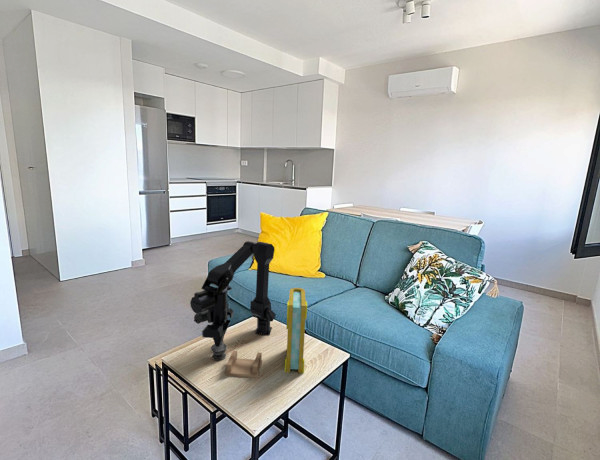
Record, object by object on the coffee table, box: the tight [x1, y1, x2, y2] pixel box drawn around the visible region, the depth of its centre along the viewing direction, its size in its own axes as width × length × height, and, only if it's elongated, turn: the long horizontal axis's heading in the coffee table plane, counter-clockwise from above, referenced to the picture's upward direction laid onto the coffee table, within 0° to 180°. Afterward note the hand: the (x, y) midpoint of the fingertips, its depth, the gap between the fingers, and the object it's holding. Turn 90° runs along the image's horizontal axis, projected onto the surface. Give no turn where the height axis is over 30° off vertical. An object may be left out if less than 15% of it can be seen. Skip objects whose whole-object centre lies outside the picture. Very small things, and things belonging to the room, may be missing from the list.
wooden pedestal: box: [224, 350, 263, 379], centre depth 115 cm, size 9×11×4 cm
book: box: [284, 287, 308, 374], centre depth 121 cm, size 17×7×25 cm, turn 0°
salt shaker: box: [210, 335, 228, 361], centre depth 121 cm, size 6×6×12 cm
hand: (218, 343), depth 121 cm, fingers closed on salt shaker, 3 cm apart
